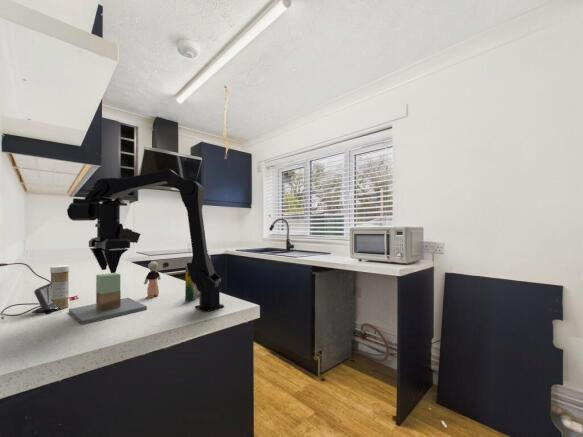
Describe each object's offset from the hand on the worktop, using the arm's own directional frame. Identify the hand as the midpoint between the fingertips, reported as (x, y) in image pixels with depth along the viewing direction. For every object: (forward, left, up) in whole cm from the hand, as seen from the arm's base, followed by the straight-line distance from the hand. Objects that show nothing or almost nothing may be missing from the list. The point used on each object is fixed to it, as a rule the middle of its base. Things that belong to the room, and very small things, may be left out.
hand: (108, 271), depth 81 cm
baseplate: (0, 0, -12) cm, 12 cm away
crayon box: (-7, -24, -12) cm, 28 cm away
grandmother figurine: (+7, -16, -12) cm, 21 cm away
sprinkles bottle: (+16, +9, -12) cm, 22 cm away
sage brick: (0, 0, -6) cm, 6 cm away
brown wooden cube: (0, 0, -11) cm, 11 cm away
